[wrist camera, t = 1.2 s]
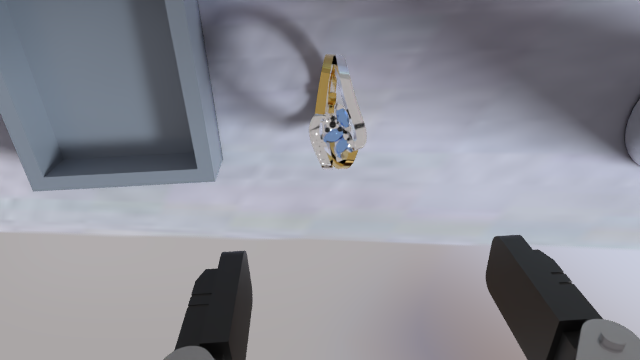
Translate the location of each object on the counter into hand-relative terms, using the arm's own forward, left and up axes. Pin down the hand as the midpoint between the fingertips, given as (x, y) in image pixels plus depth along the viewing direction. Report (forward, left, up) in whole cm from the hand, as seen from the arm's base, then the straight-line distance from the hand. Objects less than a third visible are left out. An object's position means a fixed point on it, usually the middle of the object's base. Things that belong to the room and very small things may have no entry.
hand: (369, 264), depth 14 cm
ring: (0, 0, -18) cm, 18 cm away
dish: (+14, -2, -18) cm, 23 cm away
